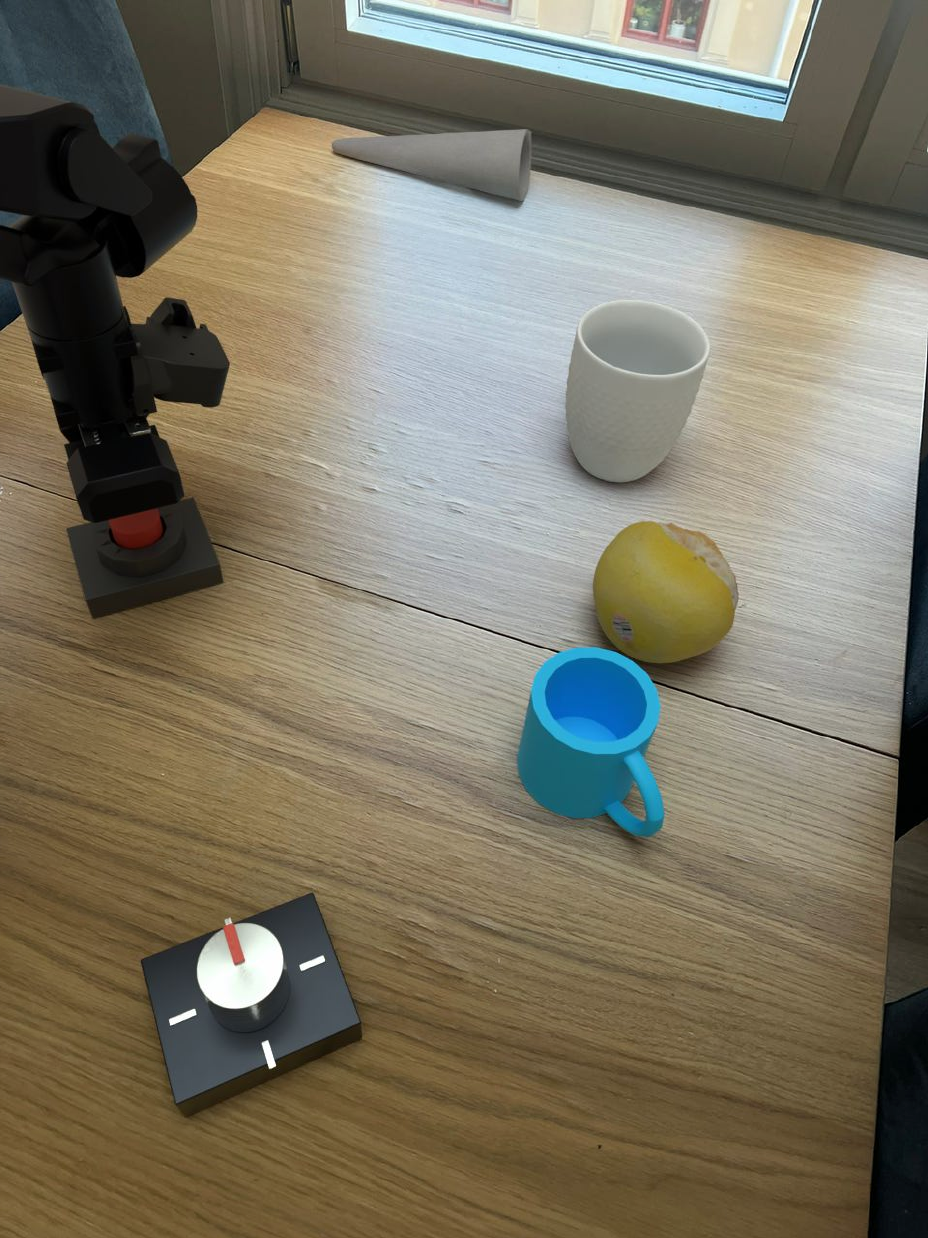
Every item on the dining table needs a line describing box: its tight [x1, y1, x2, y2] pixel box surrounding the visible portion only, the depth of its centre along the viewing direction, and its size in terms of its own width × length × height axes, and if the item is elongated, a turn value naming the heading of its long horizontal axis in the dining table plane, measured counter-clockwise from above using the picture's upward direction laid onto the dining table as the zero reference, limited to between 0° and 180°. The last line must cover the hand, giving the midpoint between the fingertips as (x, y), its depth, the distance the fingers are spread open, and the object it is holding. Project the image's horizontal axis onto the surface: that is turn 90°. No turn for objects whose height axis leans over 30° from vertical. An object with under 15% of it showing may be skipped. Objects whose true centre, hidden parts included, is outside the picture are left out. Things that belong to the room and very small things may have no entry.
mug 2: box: [516, 646, 665, 838], centre depth 61 cm, size 12×8×8 cm
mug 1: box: [564, 299, 711, 483], centre depth 82 cm, size 15×11×13 cm
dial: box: [196, 922, 290, 1032], centre depth 49 cm, size 4×4×4 cm
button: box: [109, 508, 163, 550], centre depth 70 cm, size 4×4×2 cm
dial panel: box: [140, 892, 363, 1118], centre depth 52 cm, size 10×9×3 cm
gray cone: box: [331, 128, 532, 202], centre depth 116 cm, size 8×9×26 cm
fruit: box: [592, 520, 740, 664], centre depth 69 cm, size 10×11×10 cm
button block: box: [65, 496, 224, 620], centre depth 72 cm, size 10×8×4 cm
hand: (129, 502), depth 69 cm, fingers closed
